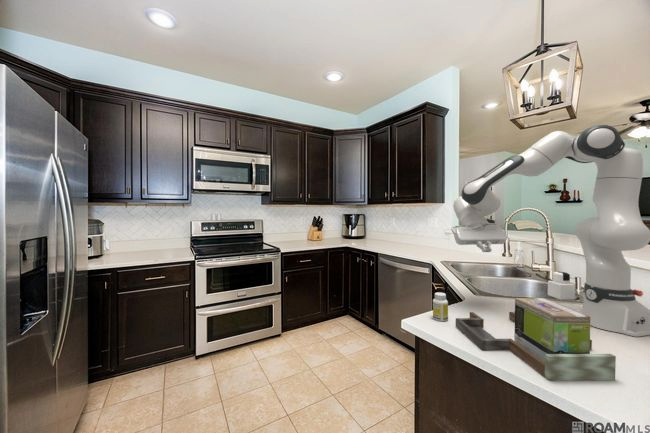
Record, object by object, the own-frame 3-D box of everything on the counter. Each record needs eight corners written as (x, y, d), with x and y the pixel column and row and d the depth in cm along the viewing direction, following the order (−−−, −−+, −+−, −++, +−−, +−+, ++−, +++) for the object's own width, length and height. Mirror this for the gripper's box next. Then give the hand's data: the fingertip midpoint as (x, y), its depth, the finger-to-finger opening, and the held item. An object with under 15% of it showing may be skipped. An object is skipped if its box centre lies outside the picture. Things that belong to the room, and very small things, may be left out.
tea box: (591, 371, 69) (592, 315, 68) (552, 371, 69) (553, 315, 69) (544, 342, 84) (545, 296, 83) (512, 342, 84) (513, 296, 84)
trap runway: (533, 319, 101) (533, 303, 101) (648, 380, 65) (649, 356, 65) (448, 319, 102) (448, 304, 101) (515, 380, 65) (515, 356, 65)
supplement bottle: (446, 316, 105) (446, 292, 104) (449, 322, 99) (449, 296, 99) (432, 315, 106) (432, 291, 106) (433, 320, 101) (433, 295, 101)
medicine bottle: (561, 294, 130) (561, 270, 130) (575, 299, 123) (575, 274, 123) (547, 295, 130) (547, 270, 129) (560, 299, 123) (561, 274, 122)
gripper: (452, 221, 114) (464, 247, 104) (499, 220, 114) (516, 246, 104) (447, 230, 118) (459, 256, 109) (493, 230, 118) (508, 255, 109)
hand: (487, 251), depth 106 cm, fingers closed
